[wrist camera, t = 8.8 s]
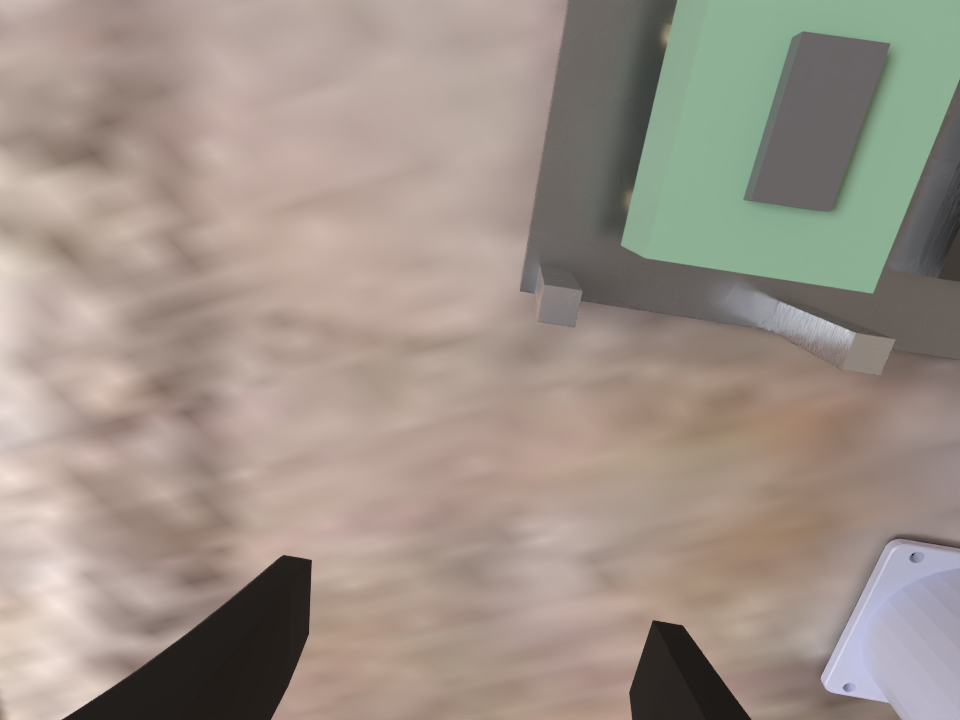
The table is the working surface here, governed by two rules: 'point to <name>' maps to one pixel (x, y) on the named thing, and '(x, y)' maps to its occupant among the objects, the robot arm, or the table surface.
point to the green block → (792, 134)
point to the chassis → (698, 290)
